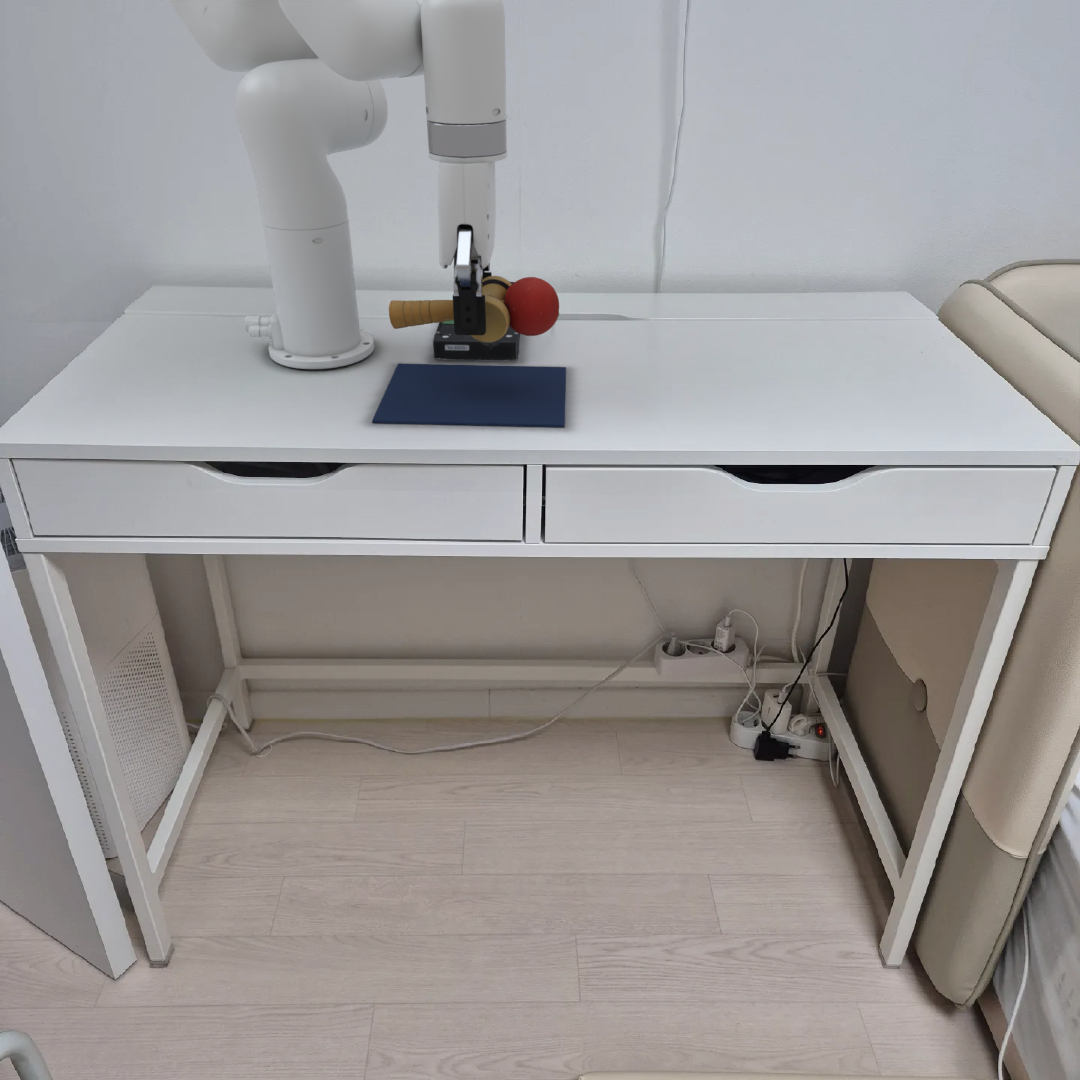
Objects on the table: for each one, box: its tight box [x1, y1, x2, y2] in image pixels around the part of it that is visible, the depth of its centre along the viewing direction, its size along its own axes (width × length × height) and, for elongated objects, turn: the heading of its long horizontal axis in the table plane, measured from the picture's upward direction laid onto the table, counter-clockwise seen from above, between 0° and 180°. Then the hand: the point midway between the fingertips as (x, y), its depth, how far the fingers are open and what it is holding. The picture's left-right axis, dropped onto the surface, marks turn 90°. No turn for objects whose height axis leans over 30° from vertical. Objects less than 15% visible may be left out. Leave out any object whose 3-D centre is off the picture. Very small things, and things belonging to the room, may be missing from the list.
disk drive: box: [432, 320, 521, 362], centre depth 113 cm, size 10×3×15 cm
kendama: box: [388, 275, 560, 342], centre depth 95 cm, size 8×6×18 cm
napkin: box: [371, 363, 567, 428], centre depth 100 cm, size 20×16×1 cm
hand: (474, 320), depth 95 cm, fingers closed on kendama, 7 cm apart
